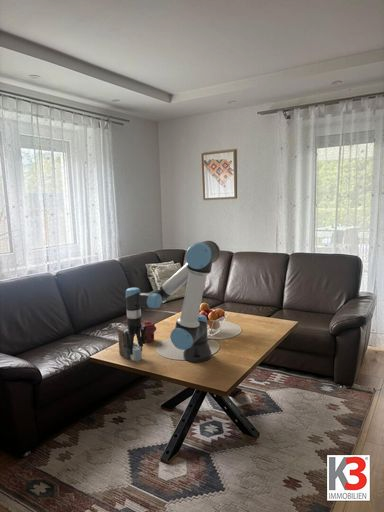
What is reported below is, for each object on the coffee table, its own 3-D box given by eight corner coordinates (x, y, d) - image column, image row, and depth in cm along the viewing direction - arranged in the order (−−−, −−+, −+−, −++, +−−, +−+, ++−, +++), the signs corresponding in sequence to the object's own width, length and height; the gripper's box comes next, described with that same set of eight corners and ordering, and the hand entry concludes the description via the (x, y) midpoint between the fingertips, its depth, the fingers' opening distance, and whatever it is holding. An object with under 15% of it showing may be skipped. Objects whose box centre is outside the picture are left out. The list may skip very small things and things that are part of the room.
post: (118, 354, 206) (116, 329, 204) (129, 350, 211) (127, 325, 209) (126, 358, 199) (125, 332, 197) (138, 355, 204) (136, 329, 202)
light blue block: (142, 359, 198) (141, 348, 197) (136, 361, 196) (135, 350, 195) (132, 354, 205) (131, 343, 205) (126, 356, 203) (125, 345, 202)
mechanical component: (158, 338, 229) (154, 344, 220) (143, 337, 231) (138, 343, 222) (157, 319, 228) (152, 324, 218) (142, 319, 230) (137, 323, 220)
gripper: (143, 312, 204) (145, 352, 207) (116, 318, 193) (119, 361, 196) (150, 314, 198) (152, 356, 201) (124, 321, 188) (126, 365, 191)
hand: (136, 358), depth 199 cm, fingers closed on light blue block, 4 cm apart
